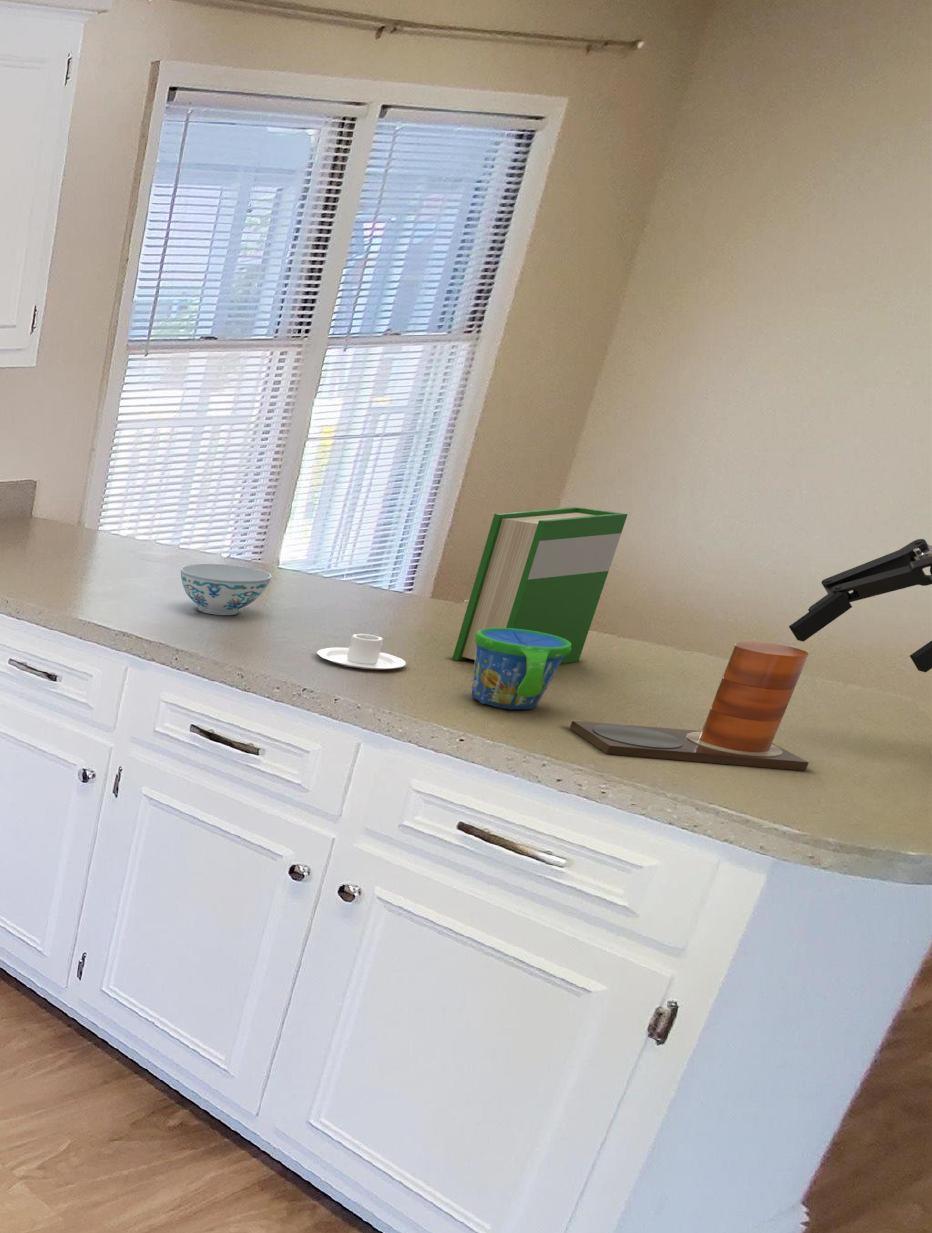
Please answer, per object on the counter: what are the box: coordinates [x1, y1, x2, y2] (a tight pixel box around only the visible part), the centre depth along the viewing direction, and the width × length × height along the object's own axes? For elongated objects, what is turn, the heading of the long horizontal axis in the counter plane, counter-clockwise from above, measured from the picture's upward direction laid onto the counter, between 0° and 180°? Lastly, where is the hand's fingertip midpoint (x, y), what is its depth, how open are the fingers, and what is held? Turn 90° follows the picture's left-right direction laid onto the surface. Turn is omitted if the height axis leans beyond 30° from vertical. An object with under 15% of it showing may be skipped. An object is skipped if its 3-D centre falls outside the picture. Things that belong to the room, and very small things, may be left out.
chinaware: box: [180, 563, 272, 616], centre depth 215 cm, size 15×15×8 cm
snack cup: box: [471, 628, 571, 711], centre depth 162 cm, size 16×10×10 cm
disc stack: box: [700, 641, 810, 752], centre depth 142 cm, size 6×6×13 cm
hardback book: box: [451, 506, 629, 664], centre depth 179 cm, size 18×7×24 cm, turn 106°
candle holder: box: [316, 633, 407, 670], centre depth 183 cm, size 12×12×4 cm
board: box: [569, 720, 809, 772], centre depth 146 cm, size 10×20×1 cm, turn 71°
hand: (853, 648), depth 140 cm, fingers open, 13 cm apart
